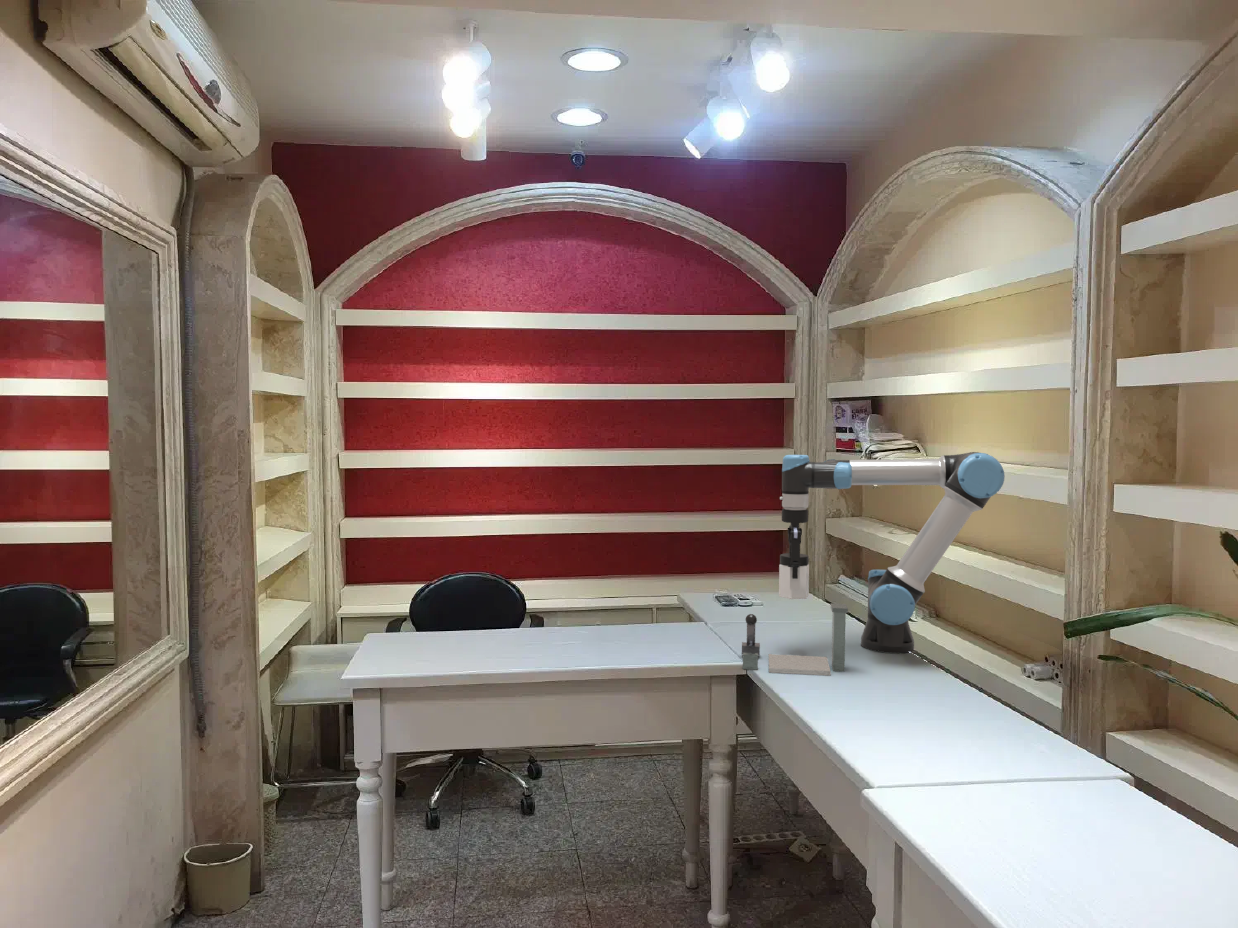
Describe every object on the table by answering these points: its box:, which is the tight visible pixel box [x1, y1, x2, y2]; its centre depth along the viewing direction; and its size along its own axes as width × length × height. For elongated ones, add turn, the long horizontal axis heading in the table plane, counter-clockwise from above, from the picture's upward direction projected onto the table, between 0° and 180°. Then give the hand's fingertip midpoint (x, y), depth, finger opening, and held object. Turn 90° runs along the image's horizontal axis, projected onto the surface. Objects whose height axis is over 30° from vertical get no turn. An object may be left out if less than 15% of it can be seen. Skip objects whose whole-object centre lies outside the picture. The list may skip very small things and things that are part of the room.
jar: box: [778, 552, 810, 600], centre depth 253 cm, size 9×8×12 cm
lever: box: [741, 613, 761, 656], centre depth 249 cm, size 5×4×11 cm
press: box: [742, 602, 849, 676], centre depth 241 cm, size 28×17×17 cm, turn 81°
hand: (793, 586), depth 253 cm, fingers closed on jar, 8 cm apart
